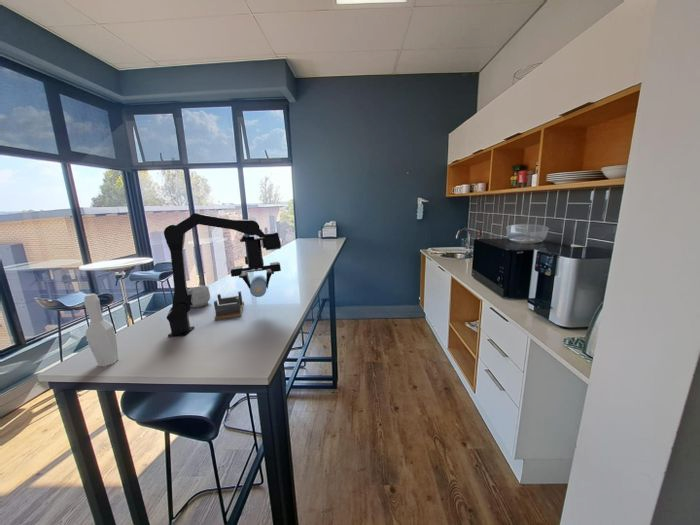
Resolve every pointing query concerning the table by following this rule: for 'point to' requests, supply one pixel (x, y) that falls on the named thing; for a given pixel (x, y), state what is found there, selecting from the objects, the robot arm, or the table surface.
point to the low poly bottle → (100, 333)
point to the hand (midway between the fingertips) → (259, 289)
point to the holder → (228, 307)
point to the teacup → (200, 296)
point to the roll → (258, 286)
